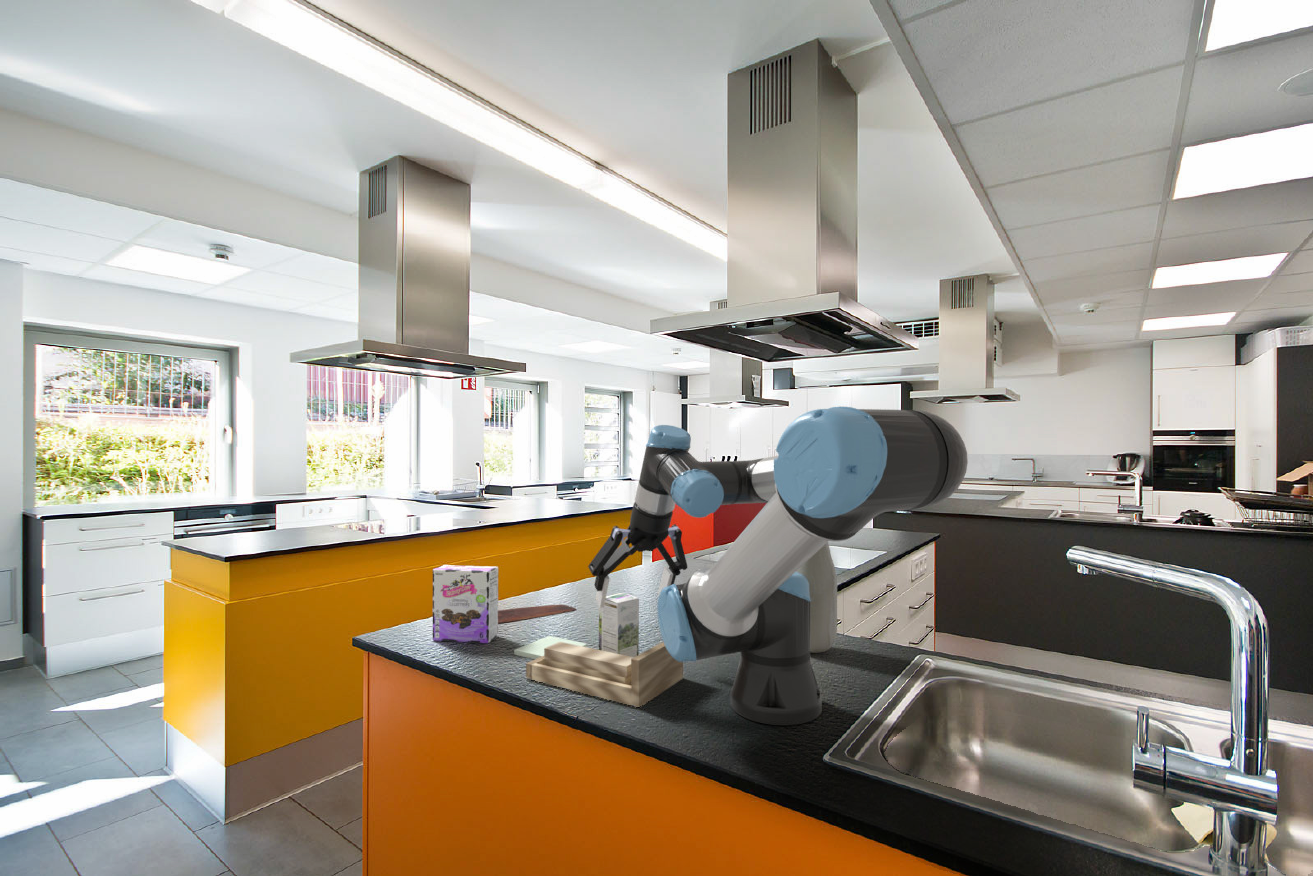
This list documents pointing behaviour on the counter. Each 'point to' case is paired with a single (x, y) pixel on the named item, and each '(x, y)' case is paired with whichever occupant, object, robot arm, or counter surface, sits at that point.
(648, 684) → the birch rack
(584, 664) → the offcut stack
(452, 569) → the candy box
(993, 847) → the counter surface
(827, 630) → the glass bottle
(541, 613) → the wooden tablet
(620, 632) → the syrup box
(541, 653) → the sage mat
